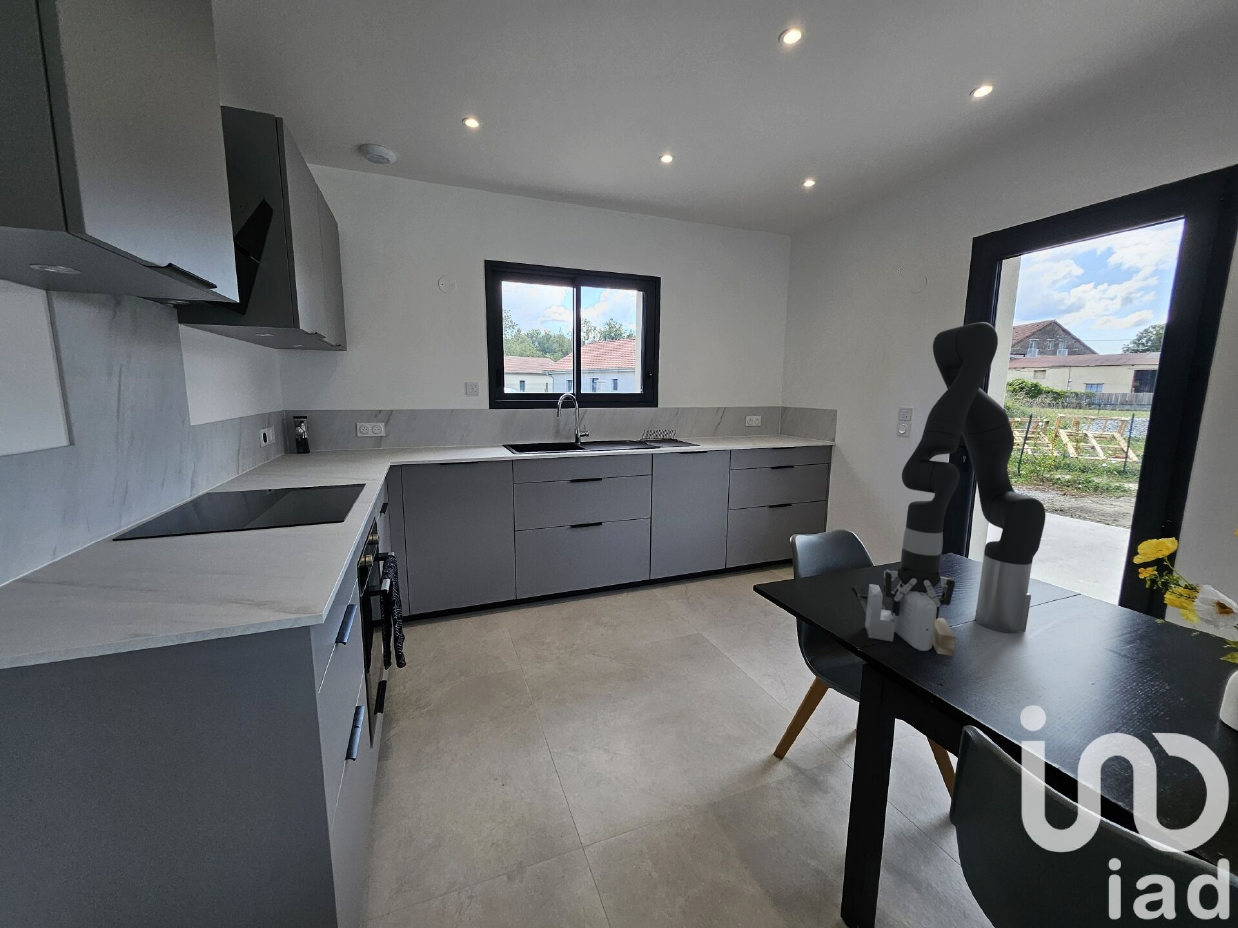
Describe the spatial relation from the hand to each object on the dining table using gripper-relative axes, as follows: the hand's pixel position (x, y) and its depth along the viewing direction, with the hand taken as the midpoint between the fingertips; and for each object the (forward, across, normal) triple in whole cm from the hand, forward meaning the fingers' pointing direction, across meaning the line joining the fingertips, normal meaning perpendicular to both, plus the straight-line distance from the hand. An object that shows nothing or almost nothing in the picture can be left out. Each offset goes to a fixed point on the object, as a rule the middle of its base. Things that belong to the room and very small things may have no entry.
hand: (913, 616), depth 111 cm
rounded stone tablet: (+6, 0, 0) cm, 6 cm away
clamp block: (+6, -6, 0) cm, 8 cm away
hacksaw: (+6, +4, -17) cm, 18 cm away
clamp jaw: (+5, +7, 0) cm, 9 cm away
